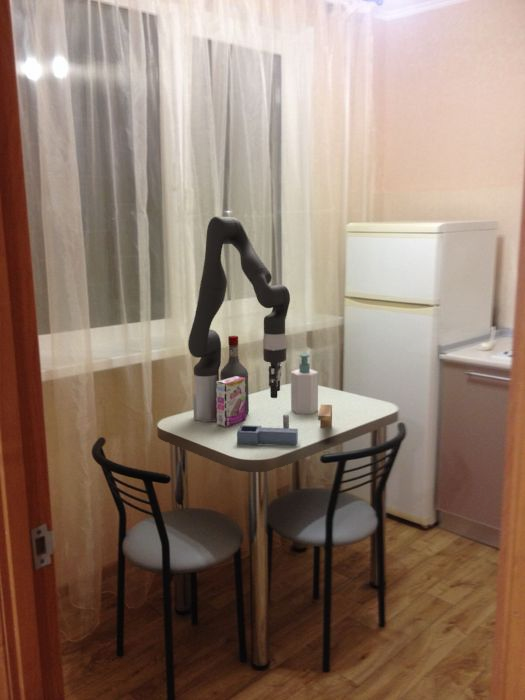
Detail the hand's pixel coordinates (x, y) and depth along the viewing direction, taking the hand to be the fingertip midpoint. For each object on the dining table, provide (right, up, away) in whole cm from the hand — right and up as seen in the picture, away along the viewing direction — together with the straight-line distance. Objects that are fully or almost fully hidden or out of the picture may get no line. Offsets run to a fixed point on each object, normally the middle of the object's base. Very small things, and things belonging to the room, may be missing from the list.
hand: (275, 394), depth 213 cm
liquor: (-15, -10, +32) cm, 37 cm away
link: (-3, -16, +1) cm, 16 cm away
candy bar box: (-16, -12, +22) cm, 29 cm away
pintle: (+4, -14, +11) cm, 18 cm away
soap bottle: (+12, -9, +35) cm, 38 cm away
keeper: (+18, -14, +10) cm, 24 cm away
